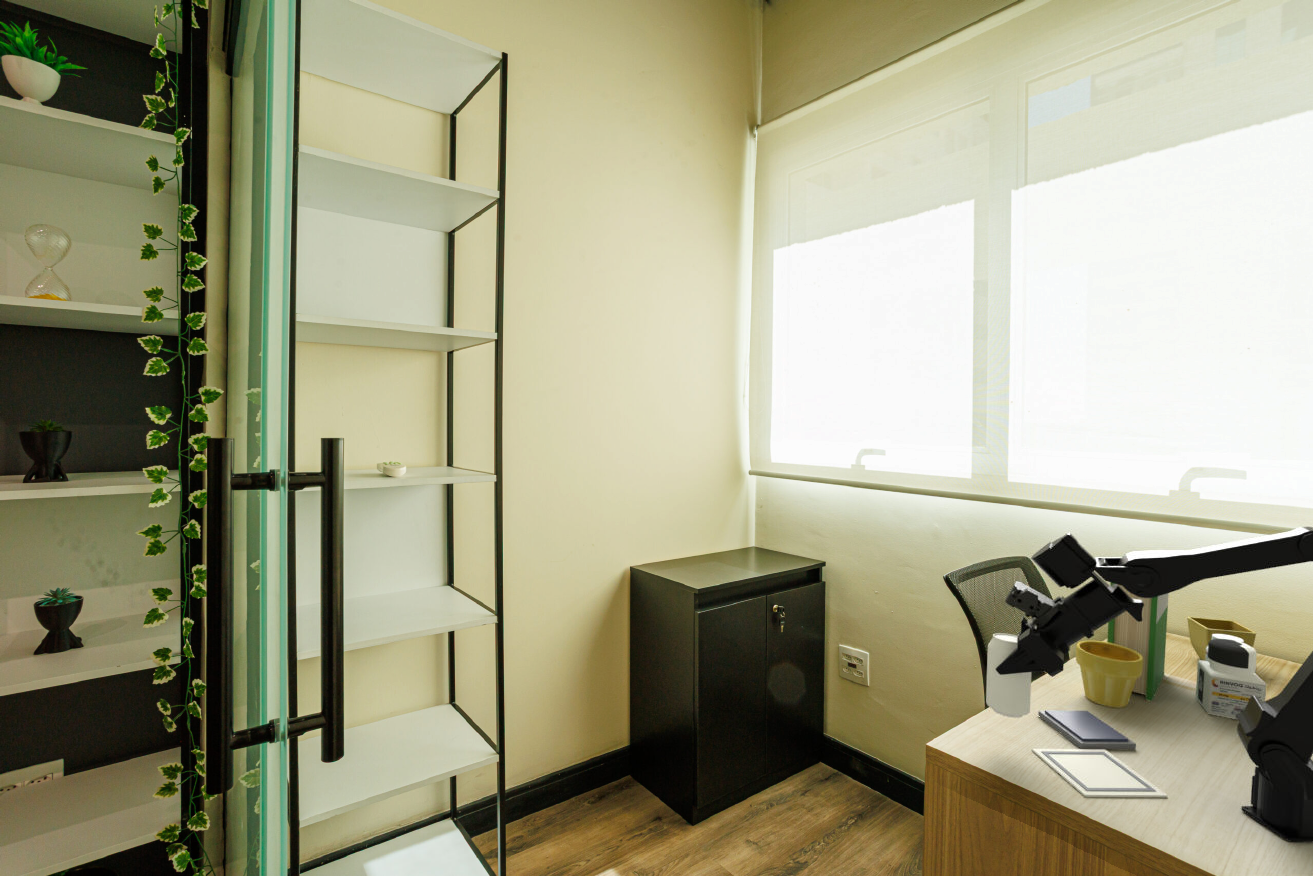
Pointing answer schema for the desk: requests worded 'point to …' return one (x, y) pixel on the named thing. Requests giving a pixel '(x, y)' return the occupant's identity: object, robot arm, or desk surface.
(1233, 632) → the flower pot
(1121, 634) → the hardback book
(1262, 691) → the container
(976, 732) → the desk surface
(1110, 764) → the print card
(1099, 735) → the ink pad
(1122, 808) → the desk surface
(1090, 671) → the plant pot
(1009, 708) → the beverage can
